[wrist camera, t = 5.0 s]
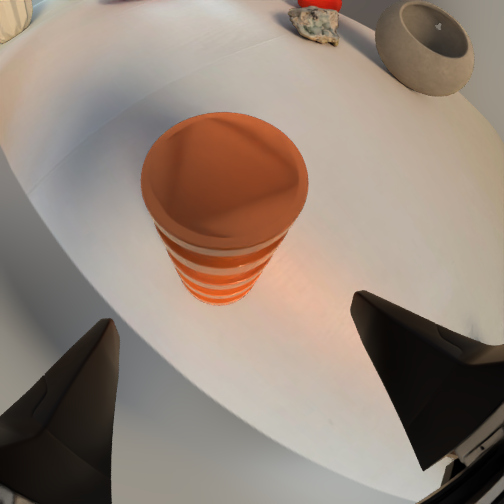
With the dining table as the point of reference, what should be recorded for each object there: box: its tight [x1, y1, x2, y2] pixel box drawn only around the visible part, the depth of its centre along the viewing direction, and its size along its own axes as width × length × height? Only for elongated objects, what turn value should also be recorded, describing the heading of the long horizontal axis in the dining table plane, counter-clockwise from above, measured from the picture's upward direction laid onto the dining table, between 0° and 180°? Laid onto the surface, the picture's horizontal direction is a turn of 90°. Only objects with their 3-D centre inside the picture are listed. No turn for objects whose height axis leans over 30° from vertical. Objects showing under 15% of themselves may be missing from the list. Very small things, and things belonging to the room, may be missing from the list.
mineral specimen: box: [288, 6, 339, 46], centre depth 35 cm, size 10×8×10 cm
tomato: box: [298, 0, 342, 12], centre depth 41 cm, size 11×11×8 cm
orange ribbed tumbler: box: [141, 112, 308, 305], centre depth 16 cm, size 6×6×13 cm
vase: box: [0, 0, 33, 44], centre depth 23 cm, size 20×20×28 cm
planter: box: [375, 0, 474, 96], centre depth 28 cm, size 18×7×19 cm, turn 48°
